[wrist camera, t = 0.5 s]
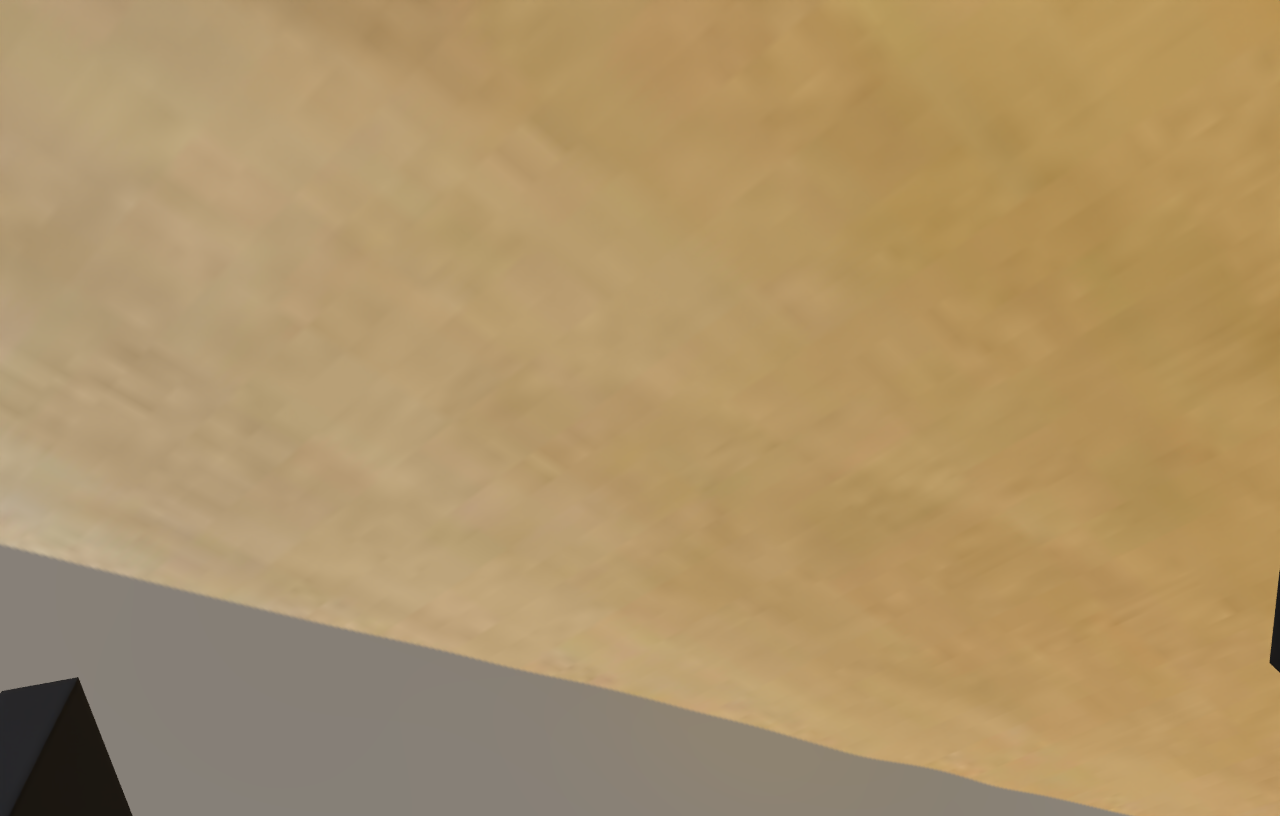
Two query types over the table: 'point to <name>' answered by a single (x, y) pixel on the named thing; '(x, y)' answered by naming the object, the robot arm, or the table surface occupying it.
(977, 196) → the table surface
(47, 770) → the robot arm
